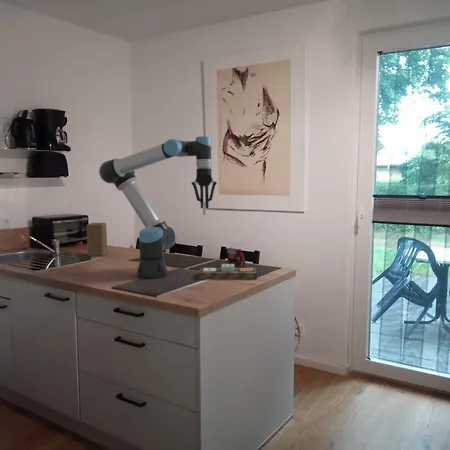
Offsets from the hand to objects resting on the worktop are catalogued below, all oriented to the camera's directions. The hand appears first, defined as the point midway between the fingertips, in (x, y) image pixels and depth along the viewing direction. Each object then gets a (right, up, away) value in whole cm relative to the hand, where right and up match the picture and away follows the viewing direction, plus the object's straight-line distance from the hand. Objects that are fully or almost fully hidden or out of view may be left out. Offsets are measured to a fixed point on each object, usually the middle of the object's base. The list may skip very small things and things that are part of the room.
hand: (204, 214), depth 227 cm
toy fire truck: (+16, -28, +12) cm, 35 cm away
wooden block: (-70, -24, +56) cm, 93 cm away
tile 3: (+21, -30, -8) cm, 37 cm away
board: (+12, -30, -7) cm, 33 cm away
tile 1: (+3, -30, -7) cm, 31 cm away
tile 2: (+12, -28, -8) cm, 31 cm away
